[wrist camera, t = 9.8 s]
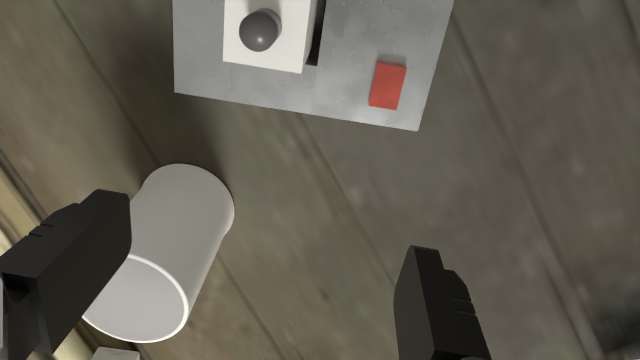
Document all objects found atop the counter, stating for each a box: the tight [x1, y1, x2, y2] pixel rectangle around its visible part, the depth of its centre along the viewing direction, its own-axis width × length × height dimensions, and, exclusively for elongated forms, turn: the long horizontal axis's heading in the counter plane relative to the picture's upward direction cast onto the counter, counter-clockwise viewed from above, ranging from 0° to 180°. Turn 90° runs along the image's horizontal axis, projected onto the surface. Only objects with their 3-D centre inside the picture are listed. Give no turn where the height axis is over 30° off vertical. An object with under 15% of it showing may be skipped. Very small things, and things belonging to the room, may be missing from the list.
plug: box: [223, 0, 318, 74], centre depth 25 cm, size 4×4×10 cm
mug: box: [82, 164, 235, 343], centre depth 33 cm, size 12×8×12 cm
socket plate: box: [173, 0, 454, 131], centre depth 28 cm, size 18×13×3 cm
